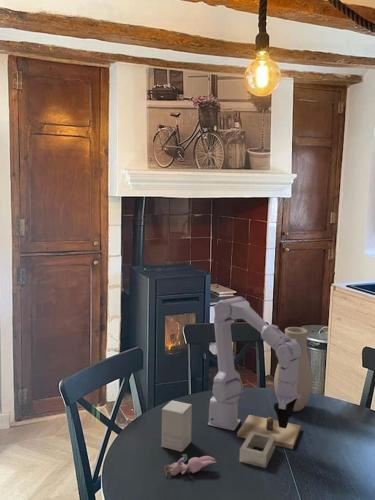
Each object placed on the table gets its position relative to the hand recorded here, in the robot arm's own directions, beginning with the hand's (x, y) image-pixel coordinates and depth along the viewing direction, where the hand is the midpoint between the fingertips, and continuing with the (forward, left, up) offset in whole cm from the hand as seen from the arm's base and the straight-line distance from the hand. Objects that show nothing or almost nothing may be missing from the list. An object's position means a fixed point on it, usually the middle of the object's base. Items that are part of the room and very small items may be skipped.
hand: (285, 421), depth 157 cm
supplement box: (-32, -10, -10) cm, 35 cm away
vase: (-4, +32, -10) cm, 33 cm away
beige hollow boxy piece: (-7, -5, -10) cm, 13 cm away
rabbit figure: (-22, -23, -10) cm, 33 cm away
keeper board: (-7, +10, -10) cm, 15 cm away
